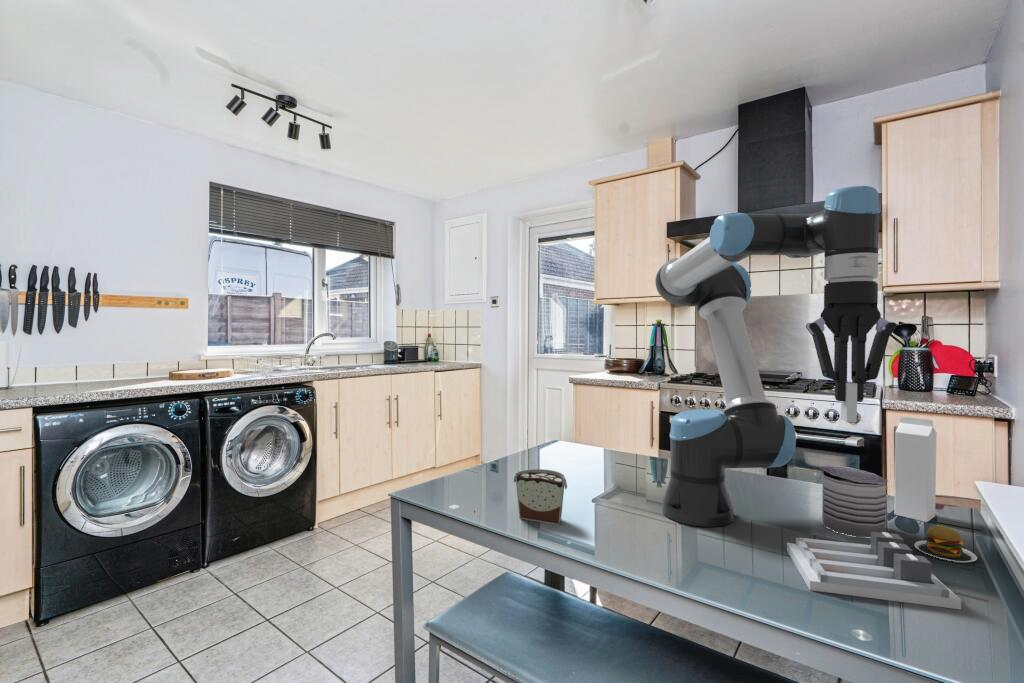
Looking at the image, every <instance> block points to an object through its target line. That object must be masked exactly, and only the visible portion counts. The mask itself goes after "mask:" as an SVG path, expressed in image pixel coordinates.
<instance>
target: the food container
mask: <svg viewBox="0 0 1024 683" xmlns="http://www.w3.org/2000/svg"><path fill="white" fill-rule="evenodd" d="M513 477H514V478H513V483H515V484H516V485H515V486H516V495H517V496H516V497H517V504H518V505H517V507H518V515H519V520H526V521H533V522H538V523H545V524H550V525H556V526H560V525H561V522H562V514H563V502H564V495H565V494H564V493H565V490H567V489H568V482H567V479H566V477H565V475H564V473H562V472H559V471H556V470H551V469H542V468H541V469H540V468H539V469H537V468H535V469H526V470H519V471H518V472H515V474H514V476H513Z"/></svg>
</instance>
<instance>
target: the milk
mask: <svg viewBox="0 0 1024 683" xmlns="http://www.w3.org/2000/svg"><path fill="white" fill-rule="evenodd" d="M894 438H895V439H894V440H895V443H894V444H895V445H894V502H893V503H894V510H893V512H894V515H896V516H901V517H904V518H908V519H912V520H916V521H921V522H924V523H928V522H930V521H931V520H932V519H933V518H935V517H936V492H937V490H936V486H937V478H936V477H937V431H936V429H935V428H934V422H933V419H925V418H919V417H918V418H917V417H908V416H900V417H899V424H898V426H897V428H896V430H895V437H894Z"/></svg>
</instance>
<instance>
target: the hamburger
mask: <svg viewBox="0 0 1024 683" xmlns="http://www.w3.org/2000/svg"><path fill="white" fill-rule="evenodd" d="M921 544H926V545H925V546H926V547H927V549H928V551H929V552H931V553H933V555H932V554H930V553H927V552H925V551H924V550H922V549H921V548H920V549H921V550H922V551H921V550H920V549H919V548H918V545H921ZM913 545H914V547H915V549H916V550H918V551H920V552H922V553H923V554H926V555H927V554H928V555H927V556H929V555H930V557H932V556H933V557H932V558H935V557H936V558H935V559H938V558H939V559H938V560H942V559H943V560H942V561H946V560H947V562H951V561H953V563H959V564H960V563H962V564H964V563H972V562H976V561H977V560H978V557H977V555H976V554H975V553H974V552H972V551H970V550H969V549H966V548H965V547H964V545H965V544H964V543H963V537H962V535H961V533H959V531H957V530H955V529H953V528H952V527H950V526H946V525H941V524H939V525H932V526H931V527H929V528H928V529H927V531H926V533H925V540H918V541H915V543H914V544H913ZM937 554H938V555H937ZM963 554H965V555H967V556H968V557H969V556H970V557H971V558H970V557H969V558H970V559H969V560H967V561H966V560H965V561H964V560H963V561H962V560H955V559H956V558H960V557H961V556H962V555H963ZM940 555H941V557H939V556H940ZM944 556H945V558H943V557H944ZM950 557H952V558H953V559H948V558H950ZM954 558H955V559H954Z"/></svg>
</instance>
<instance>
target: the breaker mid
mask: <svg viewBox="0 0 1024 683" xmlns="http://www.w3.org/2000/svg"><path fill="white" fill-rule="evenodd" d="M894 553H896V554H912V555H913V549H911V548H910V547H909V546H908V545H907V544H906V543H904V544H898V543H895V542H889V543H888V542H878V552H877V565H878V566H883V567H891V568H894Z"/></svg>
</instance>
